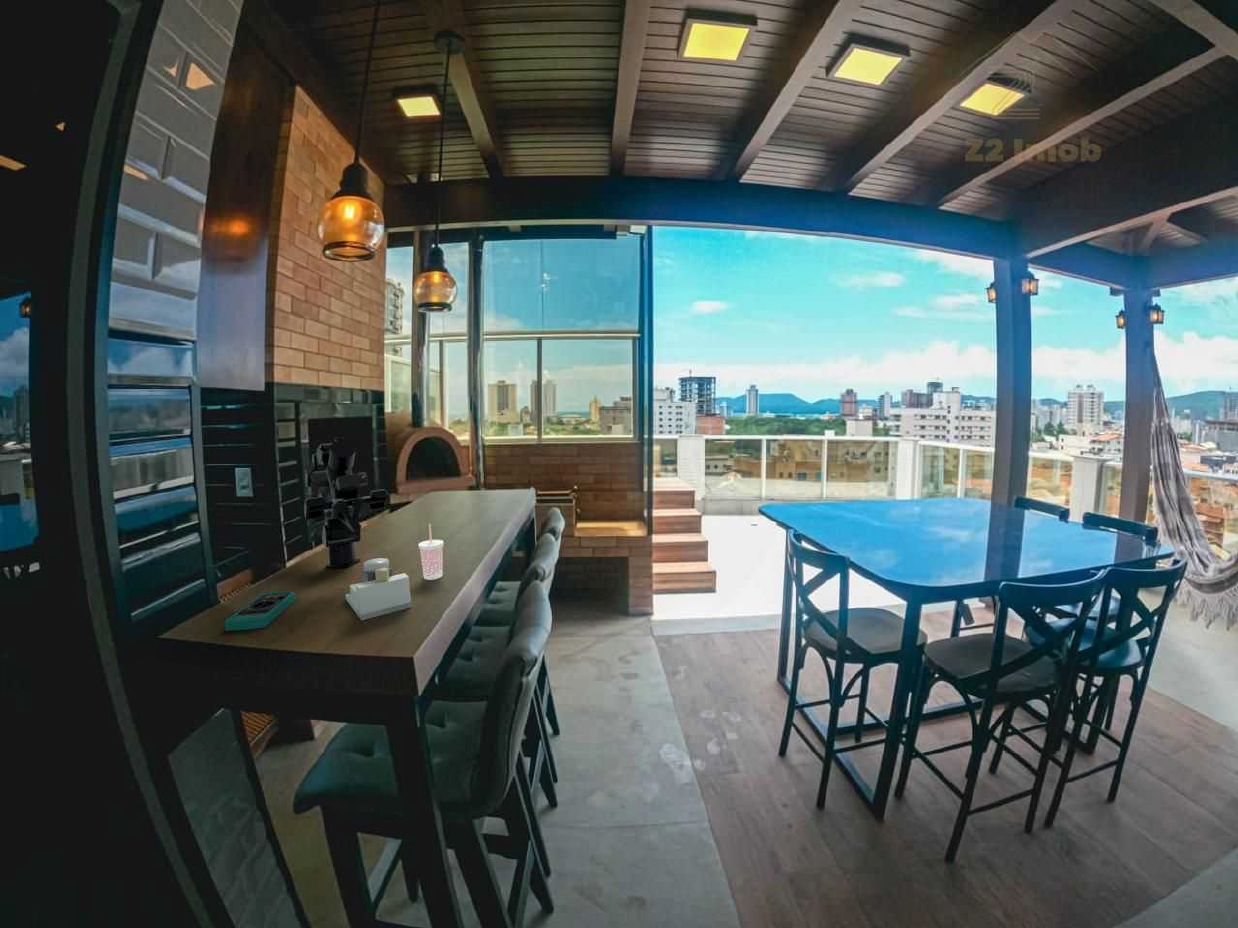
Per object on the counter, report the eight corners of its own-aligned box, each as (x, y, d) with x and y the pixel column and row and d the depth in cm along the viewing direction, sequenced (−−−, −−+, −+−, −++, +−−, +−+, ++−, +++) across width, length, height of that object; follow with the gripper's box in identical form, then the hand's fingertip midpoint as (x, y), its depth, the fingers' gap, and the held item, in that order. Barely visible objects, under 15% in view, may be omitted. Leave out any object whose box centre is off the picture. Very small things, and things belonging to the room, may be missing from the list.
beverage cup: (434, 570, 132) (431, 520, 130) (450, 574, 129) (447, 522, 127) (415, 578, 127) (411, 525, 125) (431, 582, 124) (427, 528, 122)
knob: (364, 598, 110) (361, 561, 109) (387, 592, 114) (385, 556, 112) (370, 605, 107) (366, 567, 105) (394, 599, 110) (391, 562, 109)
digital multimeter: (298, 600, 114) (296, 588, 114) (265, 630, 100) (263, 616, 99) (263, 603, 113) (261, 591, 113) (224, 633, 99) (222, 620, 98)
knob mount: (346, 599, 114) (342, 560, 112) (392, 588, 120) (389, 551, 119) (361, 620, 103) (357, 577, 101) (411, 607, 109) (408, 566, 108)
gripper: (301, 466, 118) (313, 519, 111) (384, 459, 130) (400, 507, 123) (299, 493, 125) (310, 545, 118) (378, 484, 137) (392, 531, 130)
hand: (355, 531), depth 122 cm, fingers closed
